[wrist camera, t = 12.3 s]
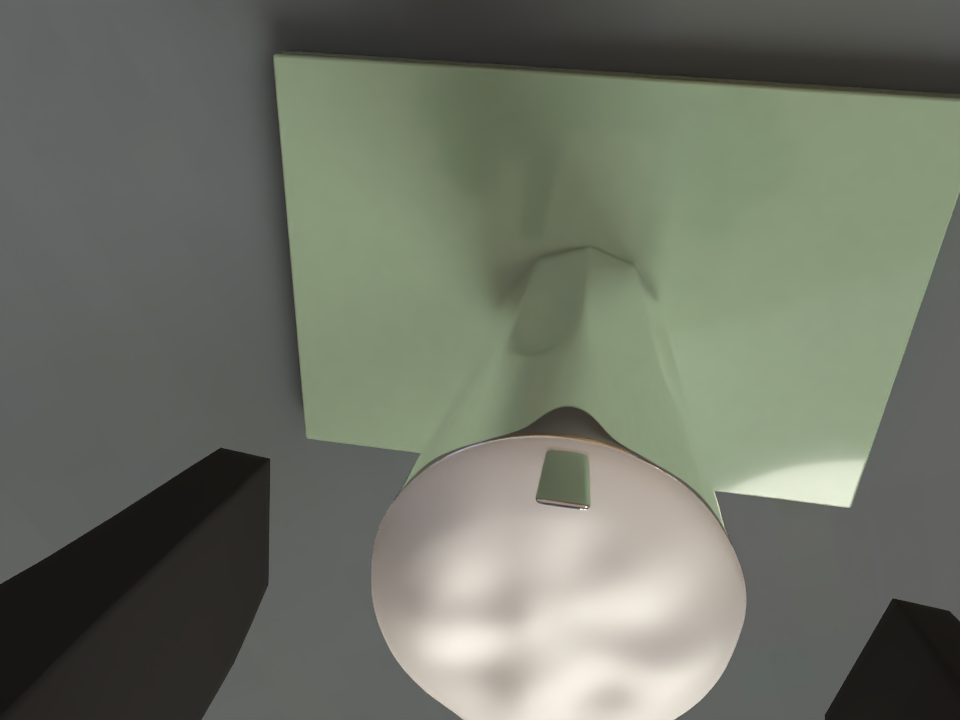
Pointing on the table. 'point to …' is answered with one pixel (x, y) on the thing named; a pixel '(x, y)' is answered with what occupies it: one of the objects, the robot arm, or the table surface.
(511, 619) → the milkshake
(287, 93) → the tile
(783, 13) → the table surface
